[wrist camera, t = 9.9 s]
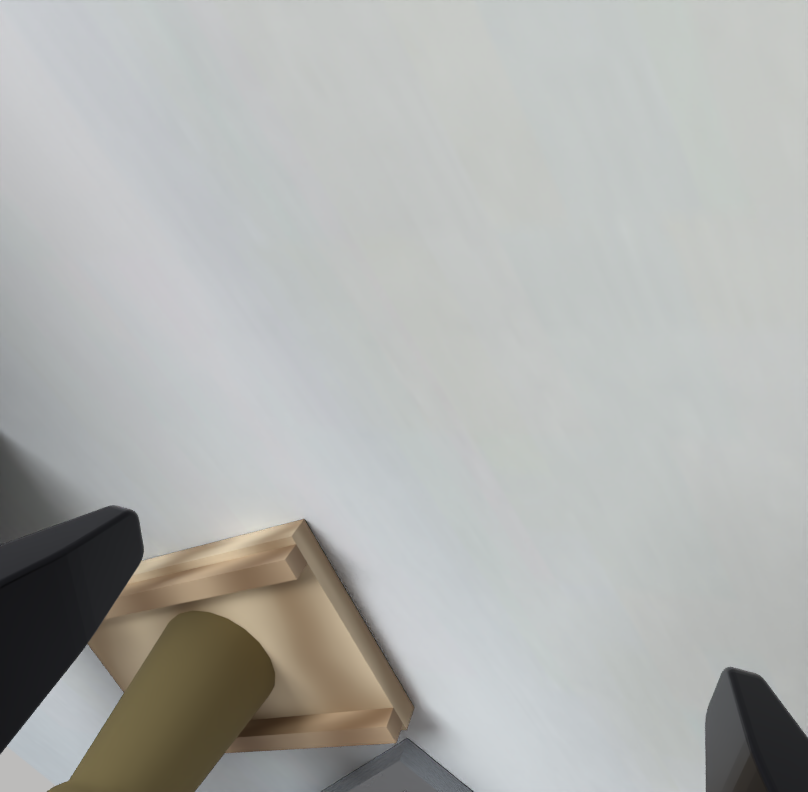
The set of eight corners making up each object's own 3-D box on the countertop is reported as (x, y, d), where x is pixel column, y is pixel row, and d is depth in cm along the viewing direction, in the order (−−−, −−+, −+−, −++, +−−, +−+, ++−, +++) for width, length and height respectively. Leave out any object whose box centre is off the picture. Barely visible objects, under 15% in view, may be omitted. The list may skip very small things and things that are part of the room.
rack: (304, 519, 27) (280, 551, 25) (414, 707, 30) (400, 749, 28) (68, 579, 34) (35, 608, 32) (177, 728, 37) (153, 762, 35)
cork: (220, 715, 33) (59, 967, 24) (143, 630, 32) (-59, 860, 23) (299, 688, 30) (152, 964, 21) (218, 594, 29) (22, 841, 20)
